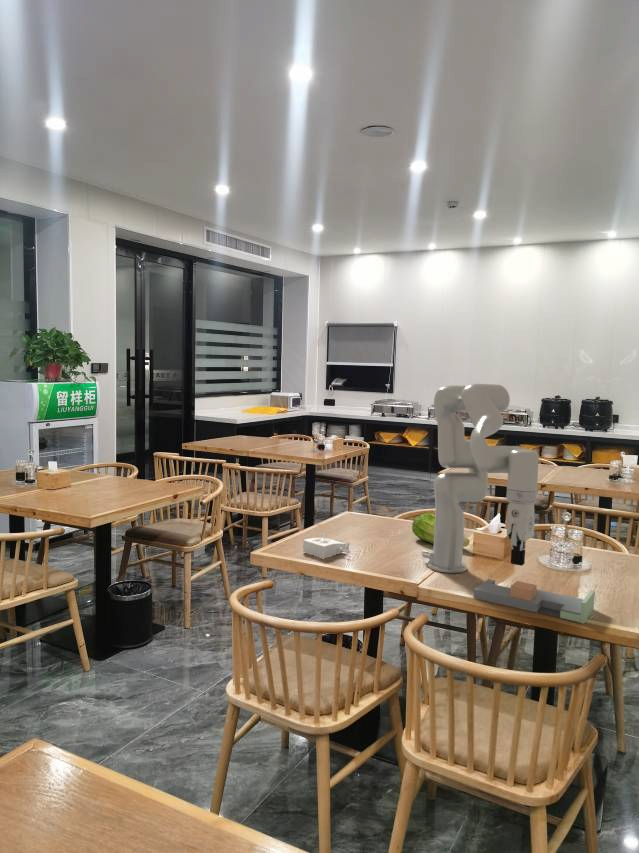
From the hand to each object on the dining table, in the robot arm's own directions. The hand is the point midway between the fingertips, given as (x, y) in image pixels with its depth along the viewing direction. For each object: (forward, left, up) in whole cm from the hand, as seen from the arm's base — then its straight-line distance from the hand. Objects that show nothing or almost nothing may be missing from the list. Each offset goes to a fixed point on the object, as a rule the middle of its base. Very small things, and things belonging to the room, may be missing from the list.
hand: (517, 564), depth 170 cm
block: (0, +9, -11) cm, 14 cm away
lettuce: (-43, +53, -14) cm, 70 cm away
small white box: (-70, +17, -14) cm, 73 cm away
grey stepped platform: (+2, +12, -14) cm, 18 cm away
